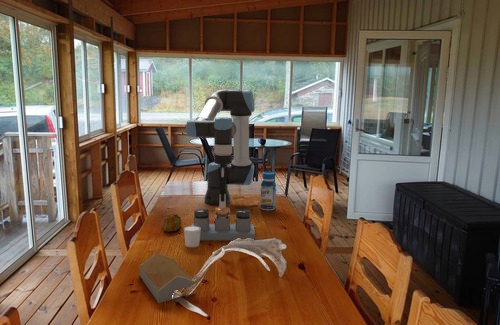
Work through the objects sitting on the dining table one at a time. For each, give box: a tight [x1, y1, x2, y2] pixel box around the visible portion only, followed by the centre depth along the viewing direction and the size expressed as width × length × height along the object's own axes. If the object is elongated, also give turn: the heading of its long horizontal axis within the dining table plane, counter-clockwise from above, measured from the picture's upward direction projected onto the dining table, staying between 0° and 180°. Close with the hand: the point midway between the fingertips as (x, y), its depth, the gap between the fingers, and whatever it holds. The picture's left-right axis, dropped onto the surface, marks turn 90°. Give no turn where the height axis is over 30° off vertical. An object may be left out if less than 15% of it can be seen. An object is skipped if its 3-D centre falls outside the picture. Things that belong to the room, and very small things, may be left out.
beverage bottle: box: [259, 171, 277, 211], centre depth 212 cm, size 8×8×20 cm
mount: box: [190, 214, 256, 241], centre depth 170 cm, size 12×28×8 cm, turn 93°
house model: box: [138, 252, 197, 304], centre depth 125 cm, size 20×12×8 cm, turn 31°
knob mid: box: [214, 206, 231, 218], centre depth 169 cm, size 6×6×7 cm
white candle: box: [183, 225, 201, 248], centre depth 159 cm, size 7×7×7 cm
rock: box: [162, 212, 183, 233], centre depth 177 cm, size 11×8×10 cm
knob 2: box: [235, 208, 252, 219], centre depth 170 cm, size 6×6×7 cm
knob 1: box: [193, 208, 210, 218], centre depth 169 cm, size 6×6×7 cm
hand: (222, 208), depth 168 cm, fingers closed
